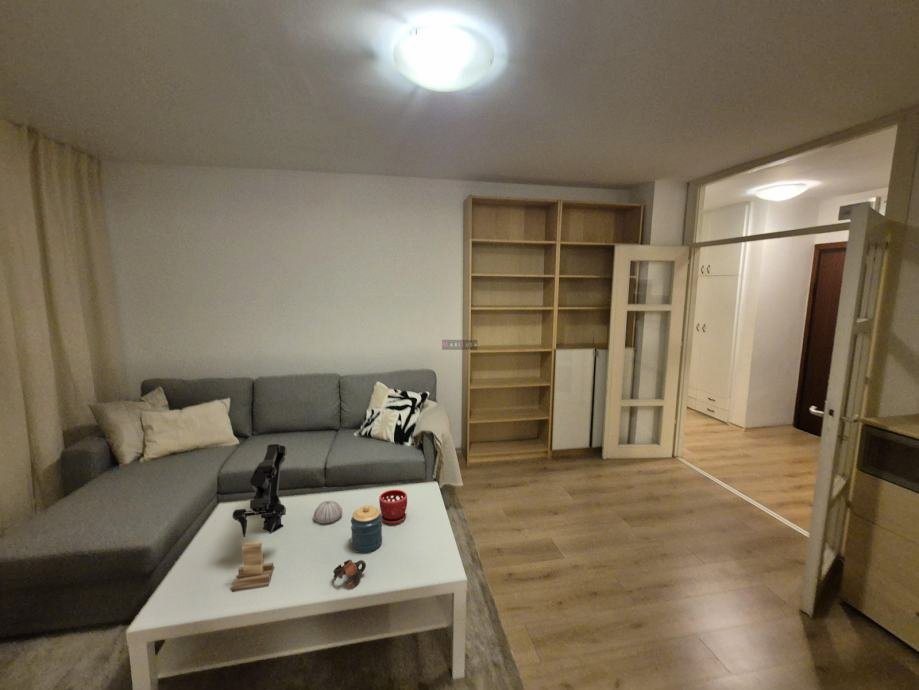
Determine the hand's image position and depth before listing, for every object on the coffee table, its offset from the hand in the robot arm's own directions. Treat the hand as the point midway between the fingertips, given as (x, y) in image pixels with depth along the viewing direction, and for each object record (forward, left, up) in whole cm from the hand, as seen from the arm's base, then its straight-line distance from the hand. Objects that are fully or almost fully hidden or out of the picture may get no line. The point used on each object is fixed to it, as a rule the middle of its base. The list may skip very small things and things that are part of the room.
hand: (257, 535), depth 154 cm
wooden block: (+5, +5, -12) cm, 14 cm away
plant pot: (-54, +23, -13) cm, 60 cm away
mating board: (+5, +5, -13) cm, 15 cm away
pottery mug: (-14, +36, -13) cm, 41 cm away
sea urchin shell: (-38, -4, -13) cm, 40 cm away
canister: (-33, +26, -13) cm, 44 cm away
